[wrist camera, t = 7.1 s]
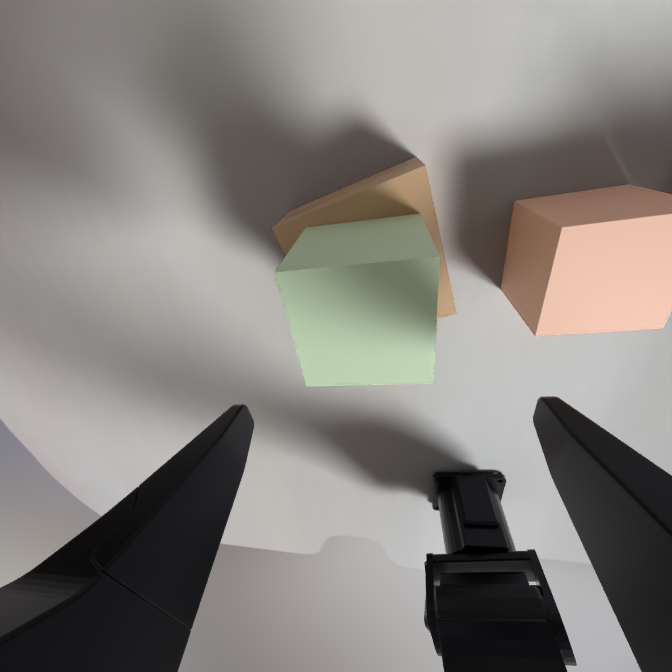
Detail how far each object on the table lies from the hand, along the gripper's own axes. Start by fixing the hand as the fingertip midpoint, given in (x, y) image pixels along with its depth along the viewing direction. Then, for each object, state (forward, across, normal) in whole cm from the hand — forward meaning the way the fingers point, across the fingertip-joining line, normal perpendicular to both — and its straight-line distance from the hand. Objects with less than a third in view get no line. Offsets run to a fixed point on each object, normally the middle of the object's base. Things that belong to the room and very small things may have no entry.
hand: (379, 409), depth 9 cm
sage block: (+7, 0, -2) cm, 7 cm away
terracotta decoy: (+11, -10, -1) cm, 15 cm away
